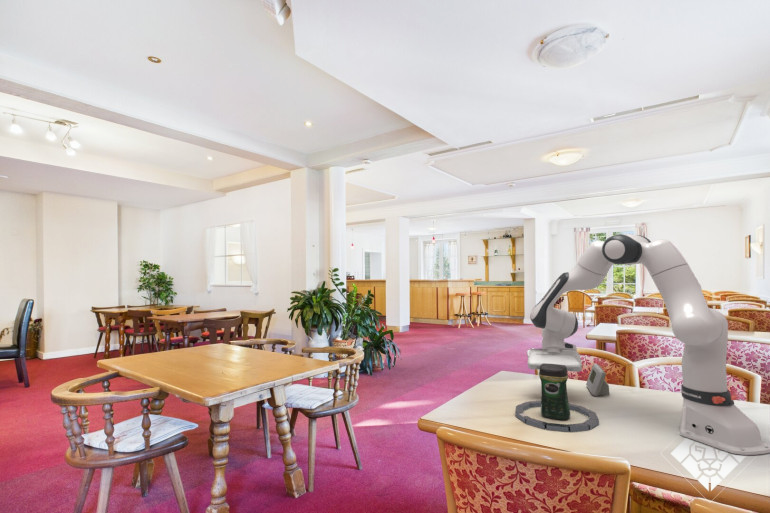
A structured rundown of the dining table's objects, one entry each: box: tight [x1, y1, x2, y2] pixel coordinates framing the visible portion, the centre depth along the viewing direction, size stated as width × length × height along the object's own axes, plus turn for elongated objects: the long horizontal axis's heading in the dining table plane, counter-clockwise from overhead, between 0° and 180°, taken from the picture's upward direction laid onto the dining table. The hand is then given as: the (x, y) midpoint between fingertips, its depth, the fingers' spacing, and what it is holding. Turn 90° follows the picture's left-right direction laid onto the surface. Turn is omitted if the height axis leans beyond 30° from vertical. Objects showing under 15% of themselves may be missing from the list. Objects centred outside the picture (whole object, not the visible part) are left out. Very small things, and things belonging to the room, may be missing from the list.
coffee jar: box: [538, 363, 571, 421], centre depth 144 cm, size 10×8×19 cm
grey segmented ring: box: [514, 399, 600, 433], centre depth 143 cm, size 27×27×2 cm
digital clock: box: [585, 363, 610, 397], centre depth 171 cm, size 16×9×11 cm, turn 150°
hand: (554, 378), depth 156 cm, fingers closed
